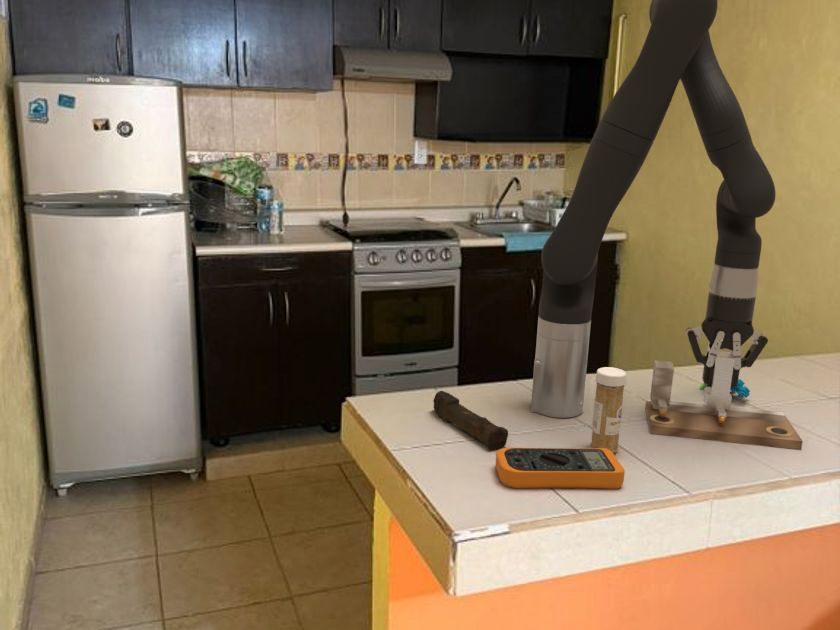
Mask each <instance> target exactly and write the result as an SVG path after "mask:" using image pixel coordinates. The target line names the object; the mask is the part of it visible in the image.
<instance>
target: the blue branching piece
mask: <svg viewBox="0 0 840 630" xmlns="http://www.w3.org/2000/svg"><path fill="white" fill-rule="evenodd" d="M706 387H707V386H706V383H704V382H703V383H702V384H700V385H699V389H700V390H703V391H704V390H705V388H706ZM730 392H731V393H734V394H735V393H736V394H737V396H739V397H741V398H742V397H745V398H748V397H749V396H750V392H751V391H750V389H749V387H747V386H745V381H743V380H742V379H740V378H738V384H737V386H733V389H730Z"/></svg>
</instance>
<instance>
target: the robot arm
mask: <svg viewBox="0 0 840 630" xmlns="http://www.w3.org/2000/svg"><path fill="white" fill-rule="evenodd" d="M648 11H649V12H648V16H649V23H650V28H649V30H648V33H647V35H646V38H645V40H644V43H643V46H642V49H641V50H640V53H639V55H638V57H637V59H636V61H635V63H634V65H633V67H632V68H631V70H630V71H629V72H628V75H627V76H626V77H625V79H624V81H623V82H622V83H621V85H620V86H619V88H618V90H617V91H616V92H615V94H614V96H613V97H612V98H611V100H610V102H609V104H608V106H607V108H606V109H605V110H604V113H603V115H602V117H601V118H600V119H601V120H599V123H598V125H597V128H596V130H595V132H594V134H593V137H592V139H591V141H590V145H589V146H588V149H587V152H586V155H585V156H584V159H583V162H582V165H581V168H580V171H579V174H578V177H577V179H576V180H577V181H576V184H575V187H574V190H573V192H572V195H571V197H570V201H569V202H568V204H567V206H566V208H565V210H564V211H563V213H562V215H561V217H560V219H559V221H558V222H557V224H556V225H555V228H554V229H553V231H552V232H551V234H550V235H549V236H548V238H547V239H546V241H545V243H544V244H543V247H542V250H541V255H540V256H541V257H540V258H541V260H540V261H541V265H542V269H543V276H542V285H541V287H542V288H541V292H540V298H539V305H538V317H537V319H538V320H537V331H536V332H537V333H536V343H535V344H536V346H535V355H534V357H535V358H534V362H533V364H534V365H533V377H532V389H531V402H530V412H532V413H538V414H541V415H542V416H543V415H544V416H547V417H551V418H559V419H560V418H564V419H565V418H574V417H577V416H579V415H582V413H583V412H584V411H583V410H584V402H585V389H586V378H587V370H588V369H587V367H588V357H589V356H588V355H589V348H590V347H589V345H590V335H591V326H592V325H591V324H592V314H593V313H592V312H593V305H594V300H595V299H594V297H595V288H596V278H597V271H598V270H597V269H598V268H597V267H598V260H599V259H598V258H599V257H598V256H599V250H600V247H601V244H602V241H603V238H604V236H605V233H606V232H607V228H608V226H609V224H610V221H611V219H612V217H613V215H614V214H615V211H616V210H617V208H618V206H619V205H620V203H621V201H622V200H623V199H624V197H625V195H626V194H627V192H628V190H629V189H630V187H631V186H632V185H633V183H634V181H635V179H636V177H637V175H638V173H639V172H640V170H641V168H642V167H643V165H644V163H645V161H646V159H647V157H648V154H649V153H650V151H651V148H652V146H653V144H654V141H655V140H656V138H657V135H658V133H659V131H660V128H661V126H662V124H663V122H664V119H665V117H666V114H667V112H668V109H669V107H670V105H671V102H672V100H673V97H674V95H675V92H676V90H677V86H678V85H679V82H680V81H681V83H682V86H683V89H684V92H685V94H686V98H687V100H688V103H689V105H690V108H691V109H690V110H691V111H692V114H693V117H694V120H695V123H696V127H697V130H698V132H699V134H700V137H701V141H702V143H703V146H704V149H705V151H706V154H707V156H708V159H709V161H710V162H711V164H712V165H713V166H715V167H716V168H718V170H719V172H720V174H721V175H722V178H723V180H722V182H720V185H719V187H718V191H717V193H716V199H715V200H716V202H715V203H716V204H715V211H716V212H715V214H716V215H715V216H716V229H717V242H716V246H715V247H716V248H715V256H714V264H713V268H712V271H711V275H710V279H709V285H708V296H707V297H708V298H707V302H706V303H707V304H706V310H705V311H706V312H705V318H704V320H703V321H702V322H701V324H700V326H699V325H698V326H697V327H693V328H692V327H687V328H686V329H685V332H686V336H687V340H688V342H689V345H690V348H691V351H692V354H693V356H694V359H695V361H696V362H697V363H700V364H703V368H702V369H703V370H702V382H703V383H706V386H705V387H706V388H708V387H711V384H712V377H713V370H714V367H713V364H714V362H715V356H717V355H718V352H719V351H720V350H725V349H727V350H729V352H731V354H732V355H733V357H734V366H733V373H732V380H731V387H730V389H733V386H737V384H738V380H739V379H740V378H739V376H740V370H741V369H743V368H751V367H752V366H753V365H754V363H755V362H756V360H757V359H758V357H759V355H760V354H761V353H762V351H763V349H765V347H766V345H767V344H768V342H769V339H768V338H767V336H766V335H765V334H764V333H759V332H757V331H756V330H755V328H754V326H753V318H754V317H753V316H754V311H755V306H756V305H755V304H756V299H757V298H756V297H757V292H758V283H759V267H760V259H761V252H762V237H761V235H760V234H759V232H758V230H757V228H756V222H757V221H756V219H757V218H761V217H763V216H765V215H767V214H768V213H769V212H770V211H771V210H772V208H773V206H774V204H775V200H776V197H777V196H776V186H775V183H774V181H773V177H772V175H771V173H770V171H769V169H768V168H767V165H766V164H765V162H764V160H763V159H762V157H761V154H759V152H758V151H757V149H756V147H755V145H754V143H753V140H752V136H751V132H750V130H749V127H748V124H747V121H746V117H745V116H744V113H743V110H742V107H741V105H740V103H739V100H738V98H737V96H736V94H735V93H734V91H733V89H732V87H731V85H730V83H729V82H728V80H727V78H726V76H725V74H724V73H723V70H722V68H721V67H720V64H719V61H718V59H717V57H716V53H715V51H714V48H713V44H712V40H711V35H710V28H711V27H712V25H713V23H714V21H715V19H716V16H717V11H718V0H651V3H650V6H649V10H648ZM702 333H703V334H704V336H705V337H706V339H707V341H708V345H707V348H706V349H707V350H706V353H705V354H702V352H701V348H700V345H699V342H698V341H699V340H701V334H702ZM749 339H751V340H750V342H751V345H750V347H749V348H748V350H747V351H746V353H745V354H744V356H743V357H741V356H742V346H743V345H744V344H745V343H746V342H747V341H748V340H749Z"/></svg>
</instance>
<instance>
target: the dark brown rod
mask: <svg viewBox="0 0 840 630" xmlns="http://www.w3.org/2000/svg"><path fill="white" fill-rule="evenodd" d="M432 401H433V410H434V411H433V412H434V413H435V414H436V415H437V416H438V417H439V418H441V420H442V421H443V422H444V423H447V422H449V423H452V424H454V425H455V426H456V427H458V428H459V429H461V430H463V431H465V432H466V433H468V434H469V436H472V437H473V438H475V439H477V440H478V441H479V442H480V443H482V444H485V445H486V449H487V450H488V451H489V452H494V451H498V449H499V450H500V449H502V448H505V446H506V445H507V442H508V441H507V440H508V437H509V430H508V429H507V428H505V427H503V426H498V425H496V424H494V423H493V422H492V421H490V420H488V418H486V417H485V416H484V417H483V416H480V415H479V414H477V413H475V412H473V411H471V410H470V409H468V408H467V407H465V406H464V405H462V404H461V403H460V399H459V398H458V397H456V396H454V395H453V394H450V393H449V392H446V391H444V390H439V391H438V392H436V393H435V395H434V398H433V400H432Z"/></svg>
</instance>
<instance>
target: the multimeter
mask: <svg viewBox="0 0 840 630" xmlns="http://www.w3.org/2000/svg"><path fill="white" fill-rule="evenodd" d="M495 468H496V469H495V470H496V471H497V474H498V477H499V480H500V481H501V482H502V484H503V485H505V486H507V487H509V488H513V489H548V488H549V489H550V488H551V489H556V488H558V489H559V488H561V489H563V488H564V489H565V488H567V489H568V488H569V489H570V488H571V489H574V488H575V489H588V488H589V489H608V490H609V489H611V490H612V489H613V490H614V489H615V490H617V489H620V488H621V487H622V486H623V485H624V481H625V472H626V471H625V470H626V469H625V468H624V467H623V465H622V464H621V462H620V461H619V460H618V459H617V456H616V455H615V453H614V454H613V453H612V452H611V451H610V450H609V449H607V448H590V447H587V448H586V447H583V448H582V447H581V448H580V447H579V448H576V447H575V448H571V447H569V448H568V447H567V448H565V447H563V448H562V447H561V448H559V447H503V448H501V449H499V450H496V453H495Z"/></svg>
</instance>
